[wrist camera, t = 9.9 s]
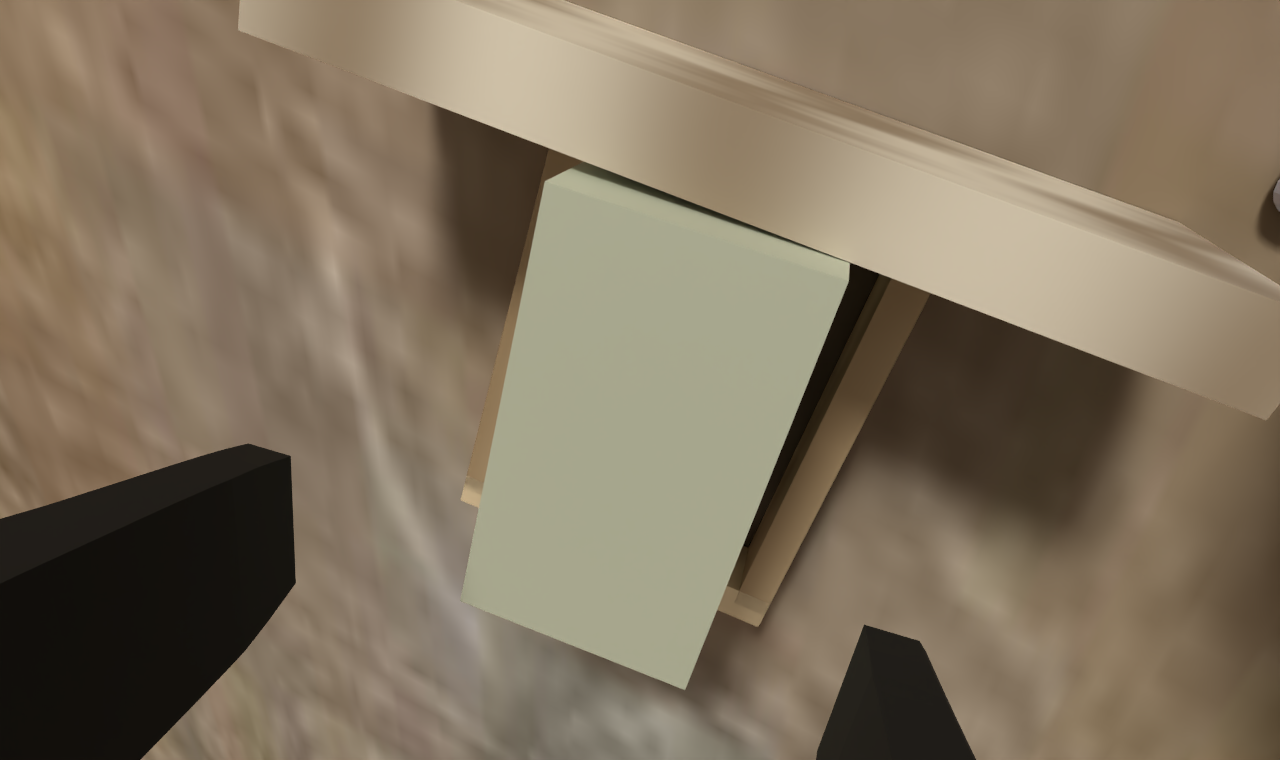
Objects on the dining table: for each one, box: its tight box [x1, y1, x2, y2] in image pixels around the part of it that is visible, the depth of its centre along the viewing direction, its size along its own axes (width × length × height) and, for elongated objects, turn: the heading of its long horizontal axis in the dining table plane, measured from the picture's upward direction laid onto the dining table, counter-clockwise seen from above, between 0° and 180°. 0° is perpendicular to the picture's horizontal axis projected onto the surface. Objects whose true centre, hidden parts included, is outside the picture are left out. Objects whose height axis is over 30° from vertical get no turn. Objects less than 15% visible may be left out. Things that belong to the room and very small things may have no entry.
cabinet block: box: [460, 162, 850, 690], centre depth 16 cm, size 4×8×7 cm, turn 165°
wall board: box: [238, 0, 1280, 627], centre depth 16 cm, size 16×12×6 cm
